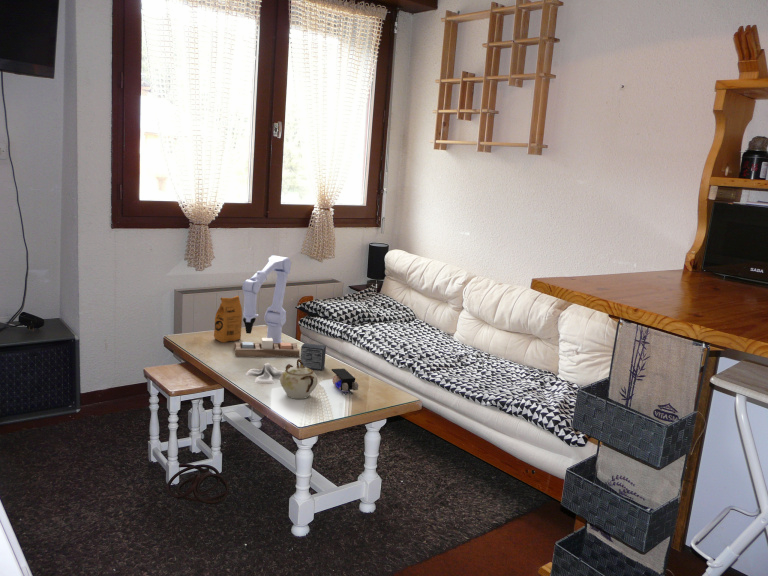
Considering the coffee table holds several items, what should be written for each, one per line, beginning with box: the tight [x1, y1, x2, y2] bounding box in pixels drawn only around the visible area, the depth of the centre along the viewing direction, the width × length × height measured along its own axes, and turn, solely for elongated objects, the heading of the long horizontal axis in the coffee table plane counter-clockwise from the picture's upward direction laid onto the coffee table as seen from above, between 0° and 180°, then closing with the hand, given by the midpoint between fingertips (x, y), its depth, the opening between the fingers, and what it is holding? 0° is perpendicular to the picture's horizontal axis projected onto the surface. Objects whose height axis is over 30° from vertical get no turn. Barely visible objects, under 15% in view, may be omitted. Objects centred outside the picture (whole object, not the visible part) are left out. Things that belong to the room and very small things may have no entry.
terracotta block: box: [280, 342, 292, 349], centre depth 316 cm, size 5×5×4 cm
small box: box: [299, 342, 327, 372], centre depth 297 cm, size 11×6×10 cm, turn 84°
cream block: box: [260, 337, 273, 349], centre depth 313 cm, size 5×5×4 cm
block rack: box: [233, 341, 301, 358], centre depth 313 cm, size 12×30×3 cm, turn 105°
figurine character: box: [331, 368, 359, 396], centre depth 272 cm, size 7×8×15 cm
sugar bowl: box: [279, 358, 319, 400], centre depth 260 cm, size 20×15×15 cm
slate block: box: [242, 341, 254, 349], centre depth 311 cm, size 5×5×4 cm
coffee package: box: [213, 295, 243, 343], centre depth 327 cm, size 10×12×22 cm
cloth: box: [245, 362, 285, 384], centre depth 282 cm, size 22×19×6 cm
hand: (248, 333), depth 310 cm, fingers closed
